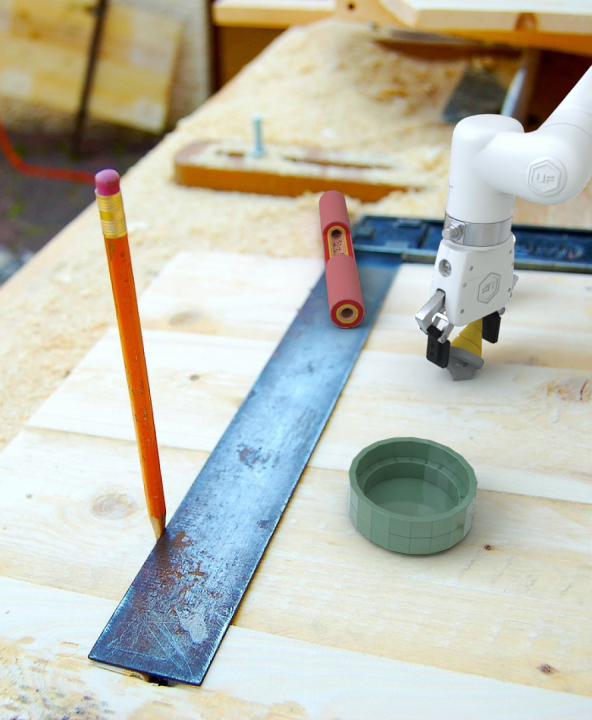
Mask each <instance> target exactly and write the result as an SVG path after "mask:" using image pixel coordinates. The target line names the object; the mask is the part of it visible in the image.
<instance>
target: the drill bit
mask: <svg viewBox="0 0 592 720" xmlns="http://www.w3.org/2000/svg"><path fill="white" fill-rule="evenodd" d="M450 343H451V344H450V353H449V362H448V367H446V368H445V369H446V370H447V371H448V372H449V373H450V374H451V375H452V376H453V377H452V378H453V379H452V382H457V381H465V380H471V379H472V380H473V379H474V378H475V376H476V373H477V370H482V369H483V366H484V364H485V360H484V358H482V357H483V355H482V354H483V353H482V352H483V351H482V350H483V339H482V318H480V319H478V320H476V321H474V322H471V323H469V324H467V325H465V327H464V328H463V329H462V330H461V331H460V332H459V333H458V335H457V336H456V337H455V338H454V339H453V340H451V341H450Z"/></svg>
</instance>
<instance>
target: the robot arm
mask: <svg viewBox="0 0 592 720" xmlns="http://www.w3.org/2000/svg"><path fill="white" fill-rule="evenodd" d="M450 147H451V148H450V157H449V168H448V177H447V188H446V189H447V190H446V199H445V210H444V219H443V229H442V230H441V237H442V239H440V243H439V246H438V250H437V253H436V256H435V262H434V267H433V272H432V279H431V285H430V291H429V300H428V301H427V302H426V303H425V304H424V305H423V306H422V307H421V308H420V309H419V310H418V312H417V313H416V314H415V316H414V319H415V321H416V323H417V325H418V327H419V329H420V330H421V332H423V333H424V335H426V336H427V339H426V352H425V358H426V360H427V361H429V362H431V363H432V364H434V365H436V366H437V367H439V368H440V369H442V370H444V369H446V367H448V362H449V353H450V344H451V341H450V339H448V338H449V337H450V335H451V333H452V332H453V330H454V327H457V328H461V327H464V326H467V325H468V324H469V323H471V322H474V321H476V320H478V319H480V318H482V340H484V341H486V342H488V343H490V344H492V345H495V344H497V343H498V342H499V335H500V329H501V322H502V316H503V315H504V314H505V313H506V310H507V308H506V306H507V305H508V303H509V302H510V300H511V297H512V294H513V292H512V291H513V290H514V288H515V286H516V285H517V283H518V280H519V275H517V274H514V269H515V245H514V240H513V235H514V233H513V232H512V231H511V230H512V225H513V224H512V223H513V218H514V210H515V203H516V198H518V199H521V200H525V201H528V202H531V203H534V204H538V205H544V206H558V205H562V204H566V203H568V202H570V201H572V200H573V199H575V198H576V197H578V195H580V194H581V193H582V192H583V191H584V189H585V188H586V186H587V184H588V183H589V181H590V180H591V178H592V65H591V66H589V68H588V69H587V71H585V73H584V74H583V75H582V77H580V79H579V80H578V81H577V83H576V84H575V86H574V87H573V88H572V89H571V90H570V92H568V94H567V95H566V96H565V98H564V99H563V100H562V101H561V102H560V103H559V104H558V106H557V107H556V108H555V109H554V110H553V112H552V113H551V114H550V115H549V117H548V118H547V119H546V120H545V121H544V122H543V123H542V124H541V125H540V126H539V127H538V128H537V129H536V130H534V131H529V132H525V130H524V127H523V125H522V123H521V122H520V121H519V120H518V119H516V118H514V117H511V116H508V115H504V114H503V115H502V114H493V113H485V114H475V115H470V116H467V117H464V118H462V119H461V120H460V121H458V123H456V126H455V127H454V129H453V132H452V136H451V146H450ZM444 312H445V314H444ZM441 320H443V321H445V324H444V325H443V327H442V329H440V328H438V325H439V323H440V321H441Z"/></svg>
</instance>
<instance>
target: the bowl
mask: <svg viewBox="0 0 592 720" xmlns="http://www.w3.org/2000/svg"><path fill="white" fill-rule="evenodd" d="M347 479H348V480H347V481H348V482H347V507H348V515H349V518H350V520H351V522H352V523H353V525H354V526H355V528H356V530H357V531H359V532H360V534H362V535H363V536H364V537H365V538H366V539H367V540H369V542H372V543H373V544H376V545H378V546H380V547H381V548H384V549H386V550H389V551H392V552H396V553H402V554H406V555H429V554H434V553H438V552H442V551H445V550H448V549H450V548H451V547H453V546H456V544H458V543H459V542H461V541H462V540H464V538H465V537H466V535H467V534H468V532H469V531H470V530H471V528H472V523H473V516H474V509H475V503H476V497H477V496H476V494H477V491H478V478H477V476H476V472H475V470H474V468H473V467H472V465H471V464H470V463H469V462H468V460H466V458H465V457H464V456H463V455H461V453H458V452H457V451H456V450H454V449H453V448H451V447H450V446H448V445H445V444H442V443H440V442H437V441H435V440H431V439H427V438H421V437H415V436H393V437H389V438H384V439H381V440H377V441H375V442H373V443H371V444H369V445H367V446H365V447H363V448H362V449H361V450H360V451H359V452H358V453H357V454H356V455H355V456H354V457H353V459H352V460H351V464H350V466H349V469H348V476H347Z"/></svg>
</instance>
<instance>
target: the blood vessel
mask: <svg viewBox="0 0 592 720" xmlns="http://www.w3.org/2000/svg"><path fill="white" fill-rule="evenodd" d="M318 210H319V219H320V220H319V221H320V230H321V240H322V253H323V263H324V271H325V282H326V292H327V293H326V294H327V303H328V312H329V313H328V314H329V318H330V321H331V322H332V324H333V325H335V326H337V328H340V327H341V328H342V329H347V328H346V327H352V328H355V327H357V326H359V325H361V323H362V322H363V321H364V318H365V314H366V310H365V304H364V303H365V302H364V297H363V292H362V287H361V281H360V276H359V269H358V264H357V261H356V256H355V249H354V244H353V239H352V229H351V224H350V219H349V212H348V206H347V201H346V197H345V195H344V194H343V193H342V192H340V191H339V190H335V189H334V190H333V189H332V190H326V191H325V192H324V193H322V195H320V197H319V200H318ZM344 327H345V328H344ZM341 328H340V329H341Z"/></svg>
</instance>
